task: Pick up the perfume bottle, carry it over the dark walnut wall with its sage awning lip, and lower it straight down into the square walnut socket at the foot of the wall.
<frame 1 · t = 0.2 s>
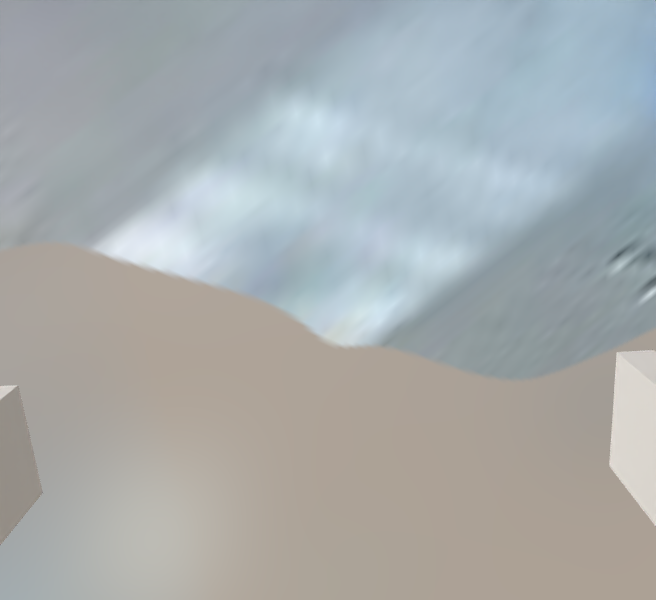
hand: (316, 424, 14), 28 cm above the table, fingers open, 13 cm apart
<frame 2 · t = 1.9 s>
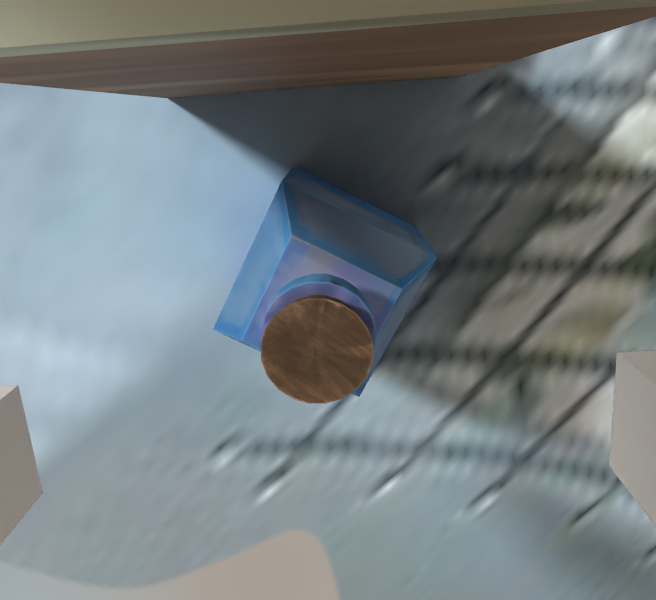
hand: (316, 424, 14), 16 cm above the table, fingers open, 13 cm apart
perfume bottle: (326, 255, 29), on the table
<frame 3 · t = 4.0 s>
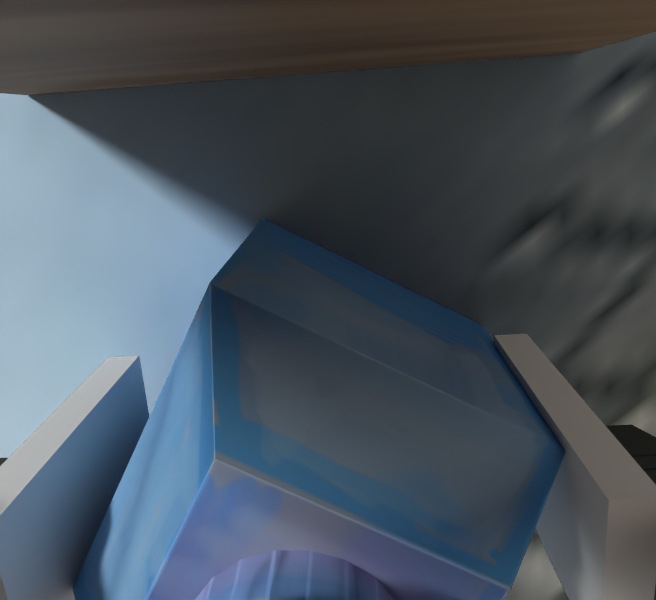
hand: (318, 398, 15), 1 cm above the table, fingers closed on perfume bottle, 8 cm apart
perfume bottle: (321, 372, 16), on the table, touching gripper
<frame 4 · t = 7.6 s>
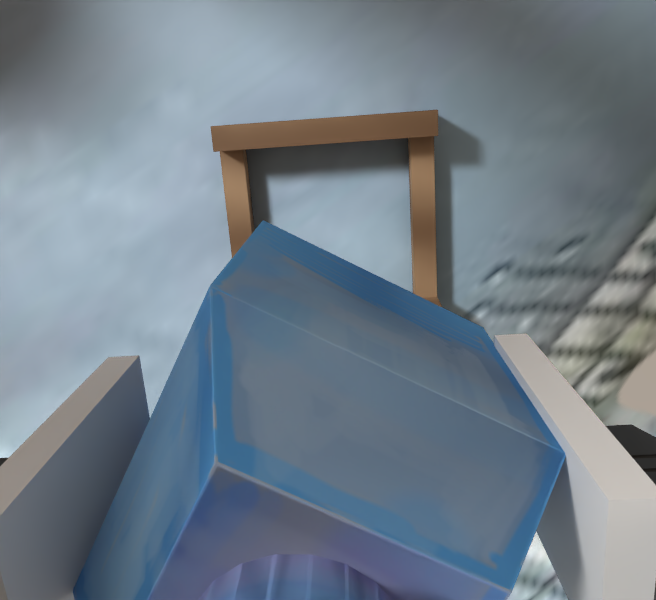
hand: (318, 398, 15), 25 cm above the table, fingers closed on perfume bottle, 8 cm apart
socket: (331, 222, 39), on the table
perfume bottle: (321, 373, 16), point 24 cm above the table, touching gripper
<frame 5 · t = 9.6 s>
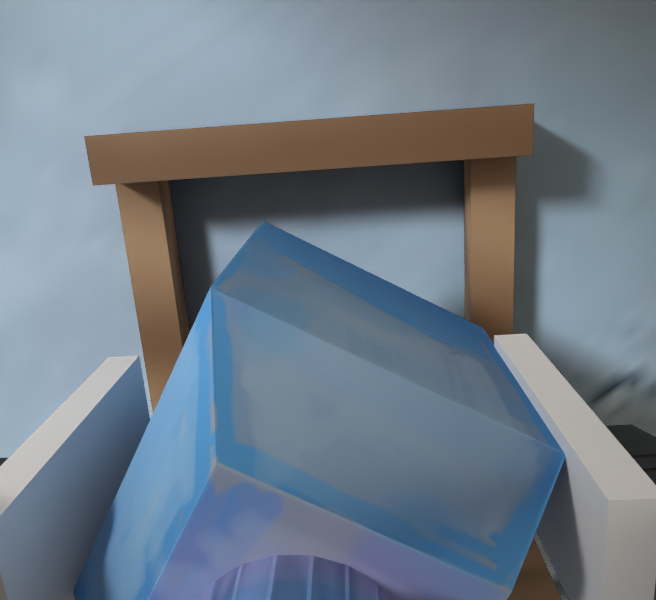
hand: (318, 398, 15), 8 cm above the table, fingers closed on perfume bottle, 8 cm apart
socket: (324, 304, 22), on the table
perfume bottle: (321, 374, 16), point 6 cm above the table, touching gripper
when the fingers open (3 cm above the table, at t = 11.3 s): perfume bottle drops 2 cm, resting in socket.
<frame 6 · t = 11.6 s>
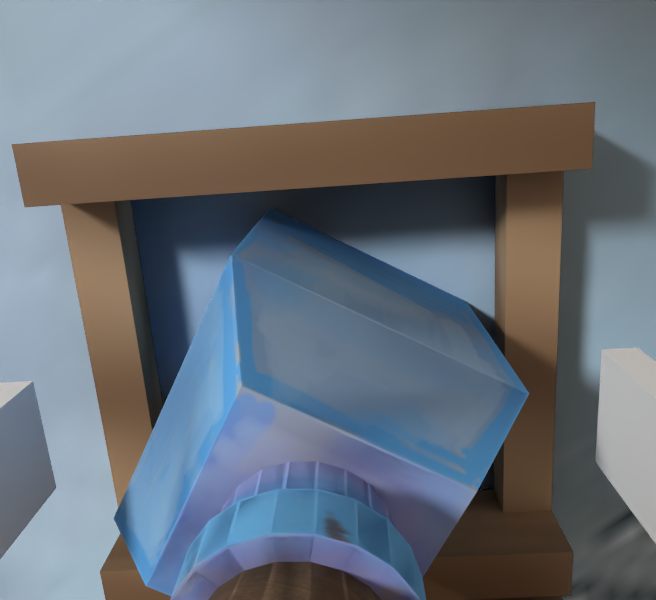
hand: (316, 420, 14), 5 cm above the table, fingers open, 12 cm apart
socket: (322, 348, 18), on the table
perfume bottle: (322, 345, 18), resting in socket
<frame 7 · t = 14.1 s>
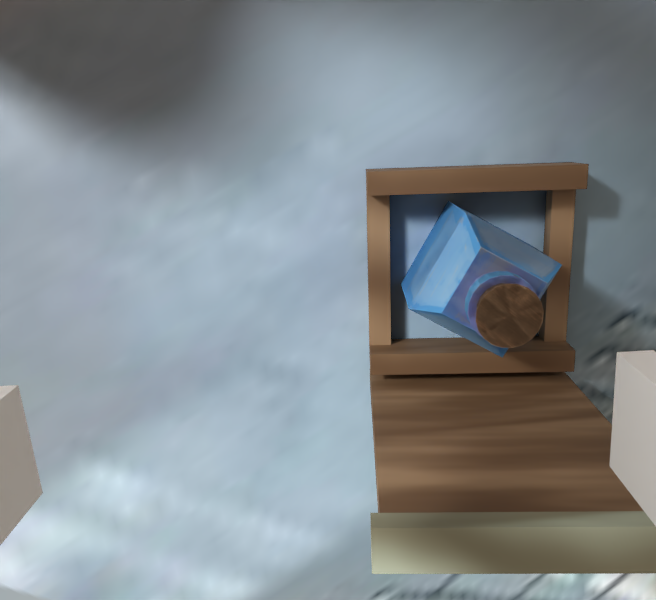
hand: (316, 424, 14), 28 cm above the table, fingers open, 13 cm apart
socket: (465, 265, 41), on the table
perfume bottle: (464, 264, 41), resting in socket
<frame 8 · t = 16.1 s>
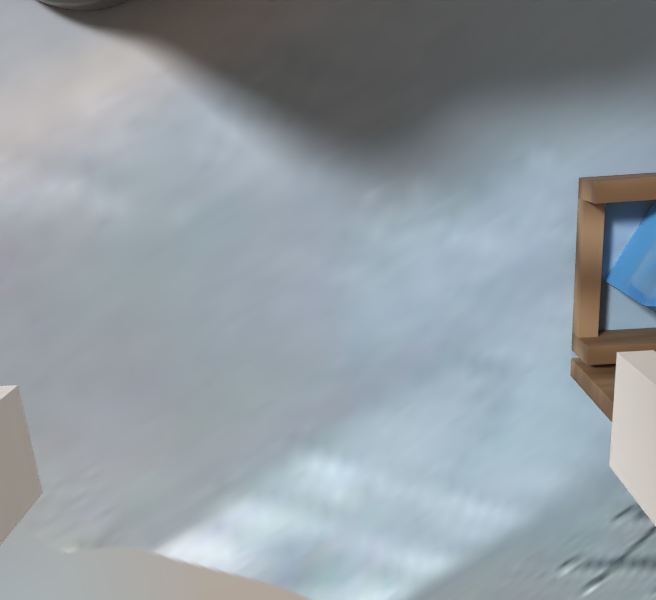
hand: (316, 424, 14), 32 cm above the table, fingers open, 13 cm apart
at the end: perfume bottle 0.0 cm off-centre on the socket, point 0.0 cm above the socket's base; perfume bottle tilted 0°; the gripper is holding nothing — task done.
